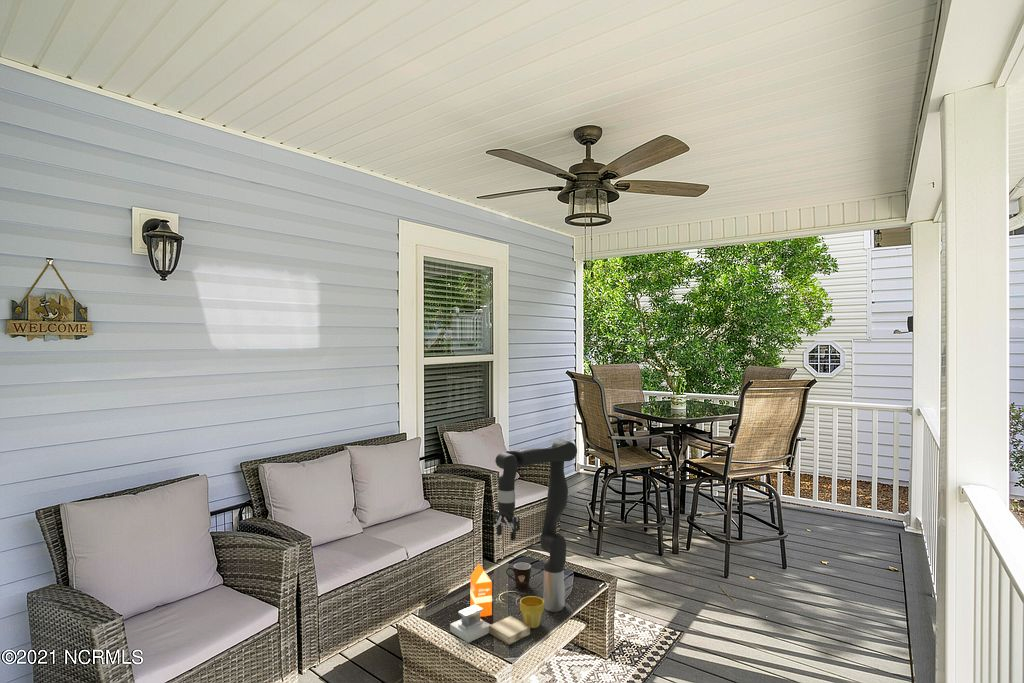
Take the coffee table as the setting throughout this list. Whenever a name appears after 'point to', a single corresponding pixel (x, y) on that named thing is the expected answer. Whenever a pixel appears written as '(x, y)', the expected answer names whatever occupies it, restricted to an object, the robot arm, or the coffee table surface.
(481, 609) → the block
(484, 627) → the stand
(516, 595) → the coffee table surface
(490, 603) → the orange juice
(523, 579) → the coffee mug
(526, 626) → the stand
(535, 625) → the plant pot
